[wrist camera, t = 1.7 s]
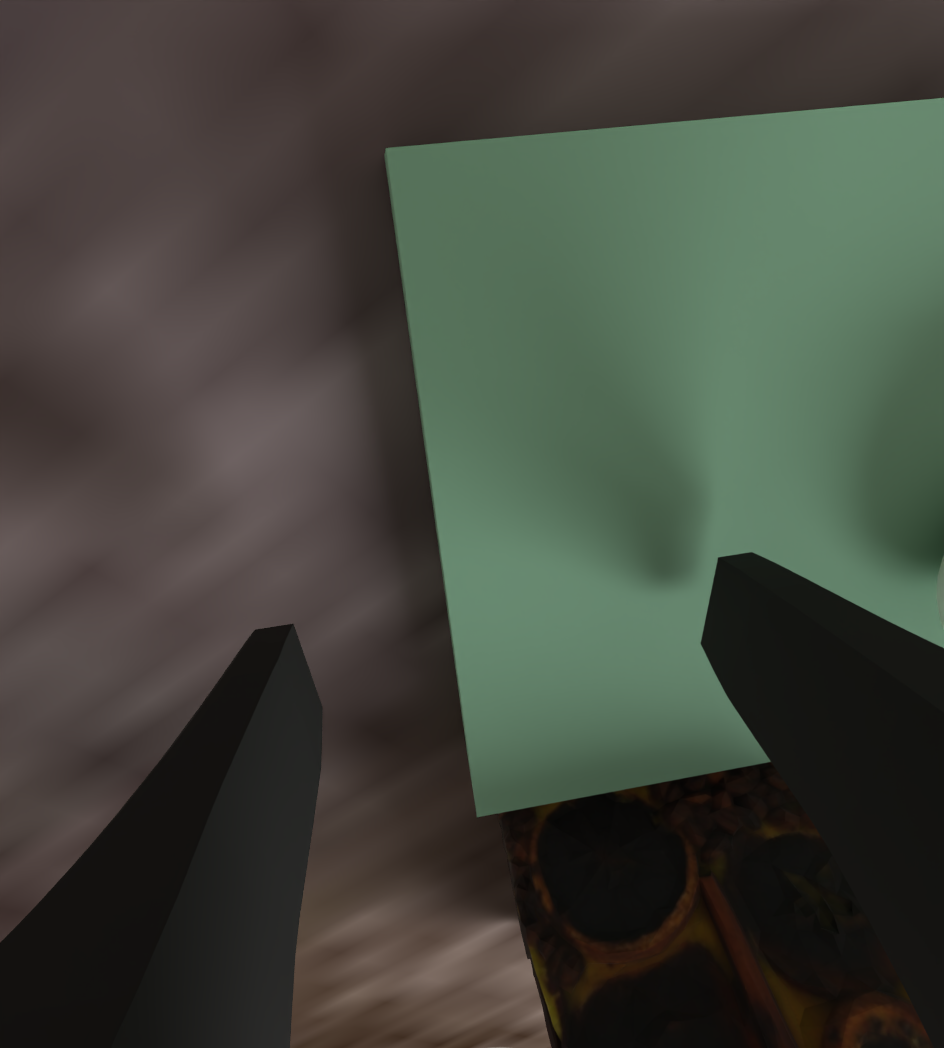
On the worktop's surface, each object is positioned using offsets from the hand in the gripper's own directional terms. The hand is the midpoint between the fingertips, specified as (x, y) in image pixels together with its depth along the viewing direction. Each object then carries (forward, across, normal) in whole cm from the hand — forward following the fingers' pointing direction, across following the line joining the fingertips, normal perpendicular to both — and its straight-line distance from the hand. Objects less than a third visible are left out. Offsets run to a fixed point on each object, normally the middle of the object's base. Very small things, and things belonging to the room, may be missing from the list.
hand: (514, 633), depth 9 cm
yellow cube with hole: (+3, -5, +14) cm, 15 cm away
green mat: (+3, -11, 0) cm, 11 cm away
